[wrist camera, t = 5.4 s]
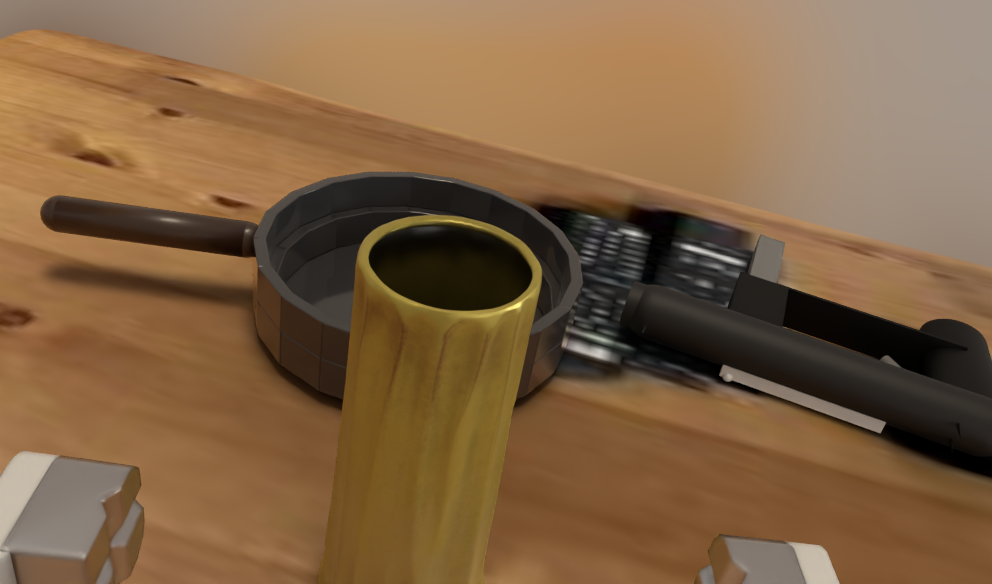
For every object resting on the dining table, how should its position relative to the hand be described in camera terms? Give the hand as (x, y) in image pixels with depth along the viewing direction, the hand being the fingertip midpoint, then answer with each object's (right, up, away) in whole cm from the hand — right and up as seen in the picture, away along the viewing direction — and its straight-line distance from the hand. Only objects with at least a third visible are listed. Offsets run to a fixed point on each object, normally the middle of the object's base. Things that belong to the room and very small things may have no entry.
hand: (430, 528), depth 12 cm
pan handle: (-16, +6, +31) cm, 35 cm away
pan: (-3, +2, +33) cm, 34 cm away
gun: (+19, 0, +38) cm, 42 cm away
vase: (-3, -8, +20) cm, 21 cm away
